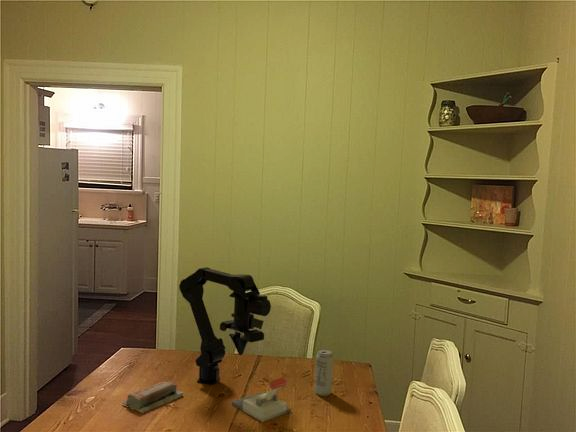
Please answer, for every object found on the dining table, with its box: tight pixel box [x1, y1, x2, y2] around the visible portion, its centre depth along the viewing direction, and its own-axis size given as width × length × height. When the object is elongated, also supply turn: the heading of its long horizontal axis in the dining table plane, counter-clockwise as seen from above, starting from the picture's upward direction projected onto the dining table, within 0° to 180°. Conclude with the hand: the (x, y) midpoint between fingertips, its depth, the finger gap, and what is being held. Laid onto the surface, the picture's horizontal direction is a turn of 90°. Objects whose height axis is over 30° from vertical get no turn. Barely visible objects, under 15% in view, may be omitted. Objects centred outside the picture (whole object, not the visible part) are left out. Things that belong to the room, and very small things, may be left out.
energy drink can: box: [314, 349, 334, 397], centre depth 188 cm, size 6×6×15 cm
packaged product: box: [121, 381, 184, 414], centre depth 176 cm, size 18×5×10 cm
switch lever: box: [261, 376, 287, 403], centre depth 168 cm, size 2×5×10 cm
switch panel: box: [231, 392, 292, 423], centre depth 174 cm, size 16×12×5 cm
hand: (240, 354), depth 186 cm, fingers closed
